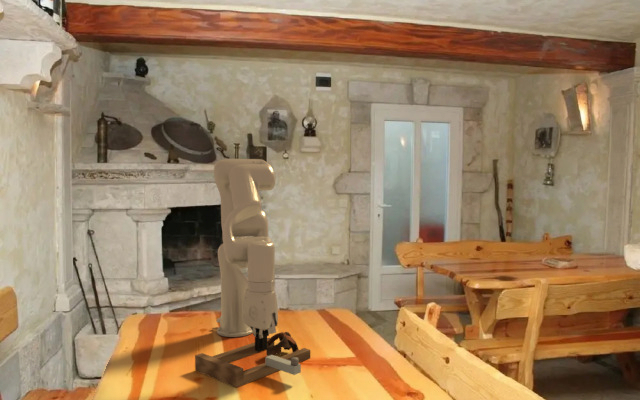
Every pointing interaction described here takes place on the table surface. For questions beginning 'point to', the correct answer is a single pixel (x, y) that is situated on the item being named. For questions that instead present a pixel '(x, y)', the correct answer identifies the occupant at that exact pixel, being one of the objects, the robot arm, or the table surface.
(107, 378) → the table surface
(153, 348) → the table surface
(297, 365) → the gray rectangular bar
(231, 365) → the frame
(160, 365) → the table surface
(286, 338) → the pottery mug
